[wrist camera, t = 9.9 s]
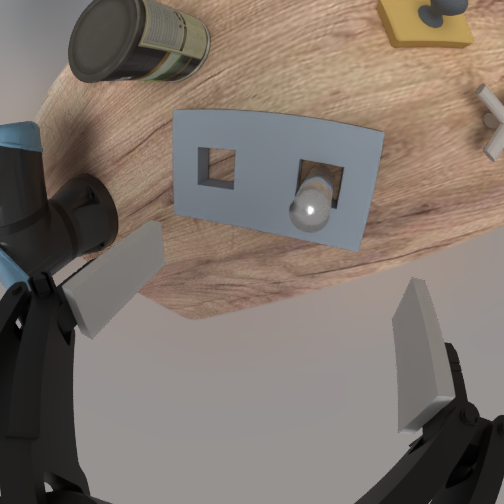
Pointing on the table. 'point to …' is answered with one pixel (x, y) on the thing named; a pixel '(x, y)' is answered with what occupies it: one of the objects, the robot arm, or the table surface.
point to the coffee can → (136, 42)
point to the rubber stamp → (425, 23)
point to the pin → (313, 200)
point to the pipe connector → (492, 121)
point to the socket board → (273, 170)
